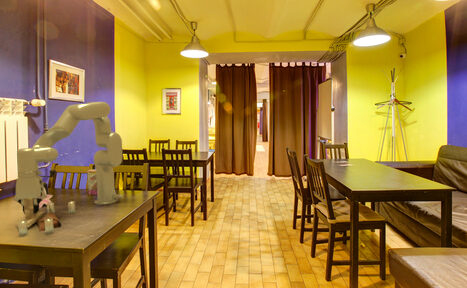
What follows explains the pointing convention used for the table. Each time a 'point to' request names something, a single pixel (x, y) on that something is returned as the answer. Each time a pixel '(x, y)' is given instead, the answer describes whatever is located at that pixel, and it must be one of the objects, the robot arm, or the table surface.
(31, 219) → the beige t-shaped block
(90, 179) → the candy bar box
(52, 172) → the manual coffee grinder
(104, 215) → the table surface
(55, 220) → the sunglasses case
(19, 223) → the light bulbs
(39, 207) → the lily
